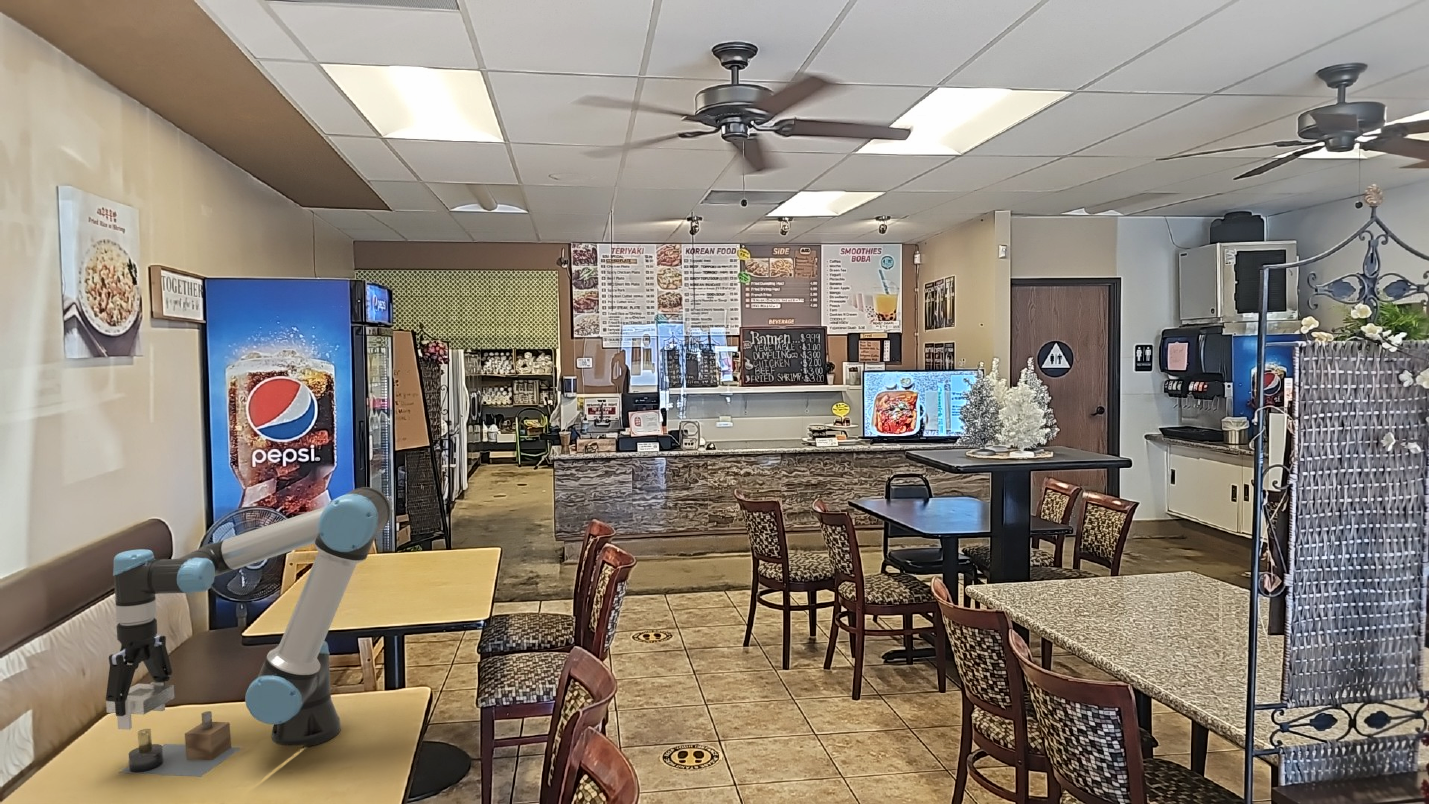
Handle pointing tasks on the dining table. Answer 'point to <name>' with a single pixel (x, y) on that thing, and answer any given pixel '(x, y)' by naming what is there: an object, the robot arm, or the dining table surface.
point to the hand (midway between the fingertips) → (142, 719)
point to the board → (184, 762)
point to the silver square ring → (145, 698)
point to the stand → (207, 739)
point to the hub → (145, 754)
